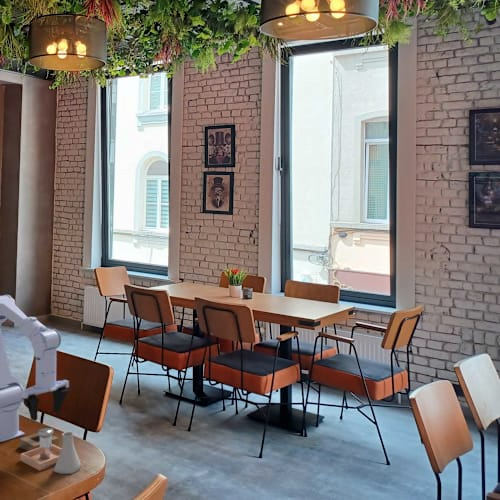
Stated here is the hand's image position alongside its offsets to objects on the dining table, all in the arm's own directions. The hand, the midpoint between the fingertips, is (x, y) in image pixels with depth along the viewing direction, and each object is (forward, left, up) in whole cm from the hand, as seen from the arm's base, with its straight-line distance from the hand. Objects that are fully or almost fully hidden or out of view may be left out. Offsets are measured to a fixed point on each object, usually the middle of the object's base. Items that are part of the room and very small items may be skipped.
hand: (45, 416), depth 168 cm
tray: (+6, -4, -10) cm, 13 cm away
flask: (+15, -3, -11) cm, 19 cm away
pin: (+6, -4, -10) cm, 12 cm away
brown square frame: (-3, 0, -10) cm, 11 cm away
